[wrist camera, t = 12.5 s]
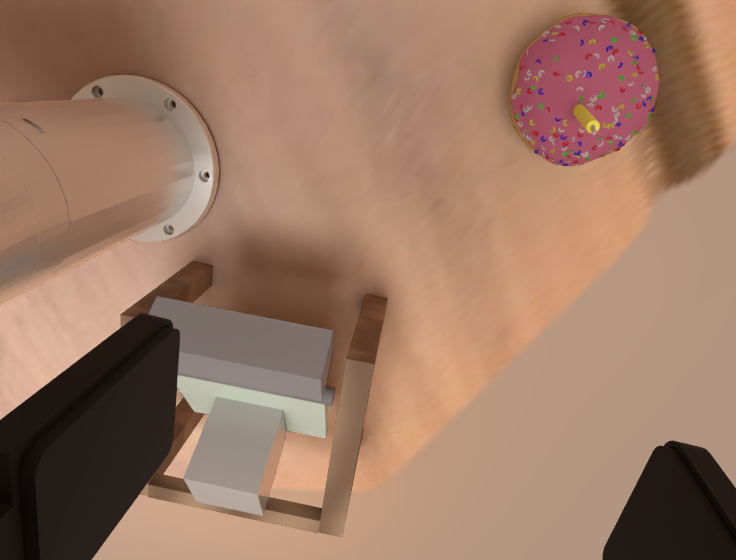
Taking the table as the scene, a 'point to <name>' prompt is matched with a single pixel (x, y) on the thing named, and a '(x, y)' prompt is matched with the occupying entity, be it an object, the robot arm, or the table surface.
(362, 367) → the stand
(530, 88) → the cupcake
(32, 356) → the table surface
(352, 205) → the table surface
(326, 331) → the trapdoor
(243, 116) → the table surface
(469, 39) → the table surface
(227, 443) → the stone
